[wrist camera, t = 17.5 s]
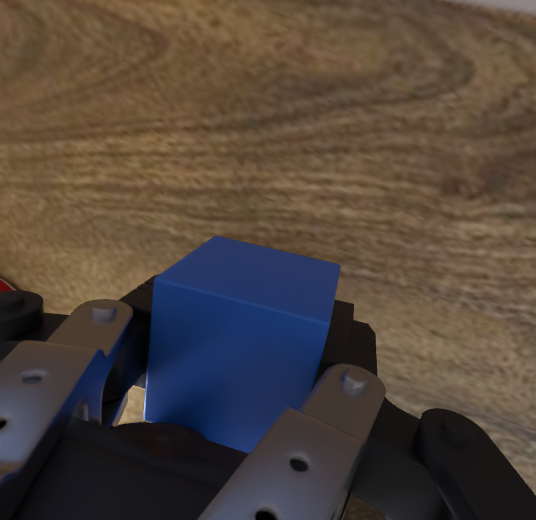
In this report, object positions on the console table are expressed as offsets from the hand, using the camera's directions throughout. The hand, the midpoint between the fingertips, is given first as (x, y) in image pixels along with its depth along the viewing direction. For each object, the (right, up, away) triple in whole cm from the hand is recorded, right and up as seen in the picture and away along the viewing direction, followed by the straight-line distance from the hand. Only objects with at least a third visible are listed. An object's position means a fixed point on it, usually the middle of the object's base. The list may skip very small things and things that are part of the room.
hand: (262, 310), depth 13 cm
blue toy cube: (0, 0, 0) cm, 0 cm away
